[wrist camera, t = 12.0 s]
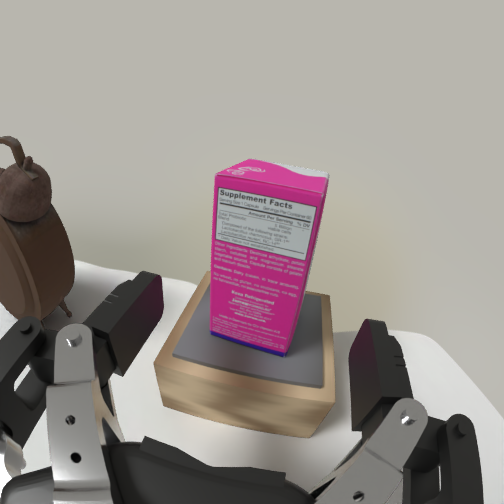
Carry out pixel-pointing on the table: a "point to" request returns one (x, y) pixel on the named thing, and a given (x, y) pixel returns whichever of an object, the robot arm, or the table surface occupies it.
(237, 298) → the supplement box
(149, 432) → the table surface
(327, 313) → the pedestal
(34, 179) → the alarm clock
